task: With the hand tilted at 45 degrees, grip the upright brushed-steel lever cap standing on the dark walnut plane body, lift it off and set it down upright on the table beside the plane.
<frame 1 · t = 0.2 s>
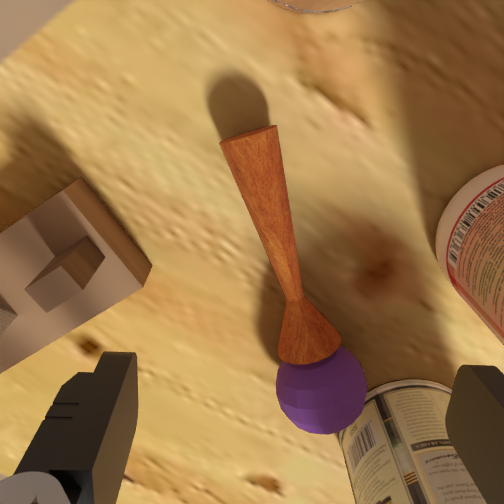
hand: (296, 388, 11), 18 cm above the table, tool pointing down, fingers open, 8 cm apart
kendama: (290, 274, 31), on the table
coffee can: (403, 428, 36), on the table
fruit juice: (503, 229, 30), on the table
plane body: (1, 299, 31), on the table
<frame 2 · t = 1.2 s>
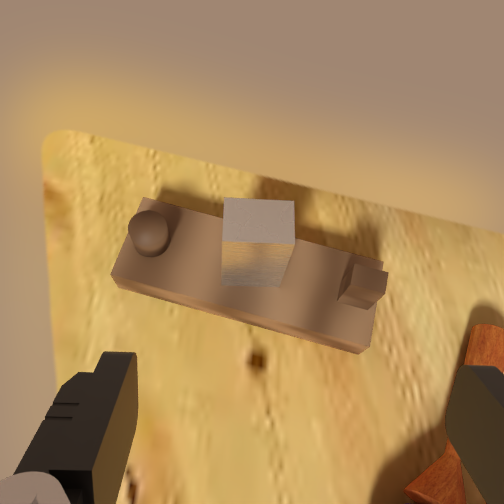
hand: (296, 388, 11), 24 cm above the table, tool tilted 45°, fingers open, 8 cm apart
lever cap: (250, 267, 36), point 3 cm above the table, touching plane body
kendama: (437, 453, 34), on the table
plane body: (248, 281, 38), on the table
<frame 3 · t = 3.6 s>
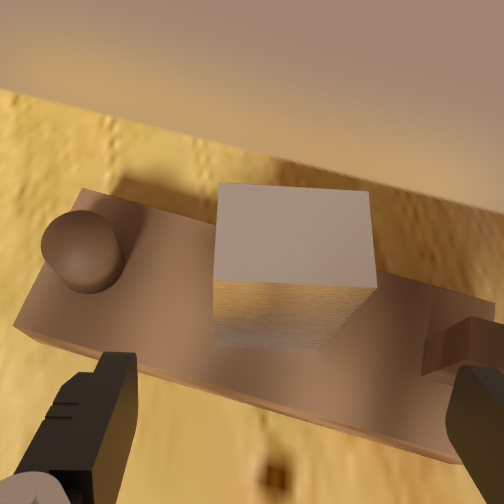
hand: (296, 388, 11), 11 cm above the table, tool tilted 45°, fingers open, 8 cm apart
lever cap: (266, 313, 20), point 3 cm above the table, touching plane body
plane body: (259, 330, 23), on the table
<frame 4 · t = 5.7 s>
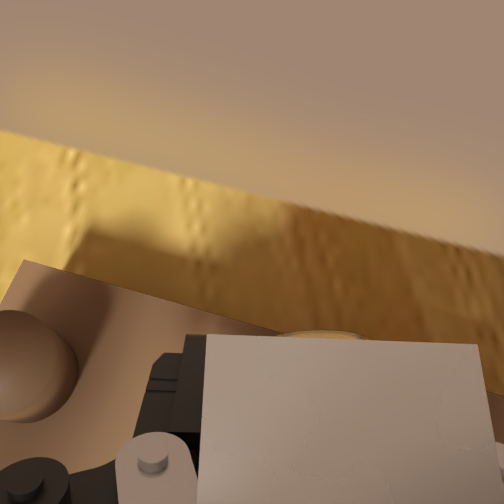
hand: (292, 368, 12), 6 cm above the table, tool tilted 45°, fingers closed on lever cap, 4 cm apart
lever cap: (279, 448, 14), point 3 cm above the table, touching gripper, plane body
plane body: (269, 449, 17), on the table
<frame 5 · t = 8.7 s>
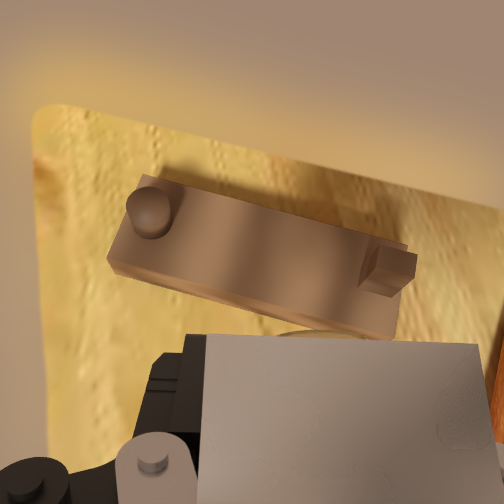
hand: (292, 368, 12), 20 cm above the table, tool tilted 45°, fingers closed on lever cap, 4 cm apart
lever cap: (279, 448, 14), point 17 cm above the table, touching gripper
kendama: (471, 449, 31), on the table
plane body: (258, 267, 35), on the table
when the fingers open (4 cm above the table, at t = 12.1 s): lever cap drops 2 cm, on the table.
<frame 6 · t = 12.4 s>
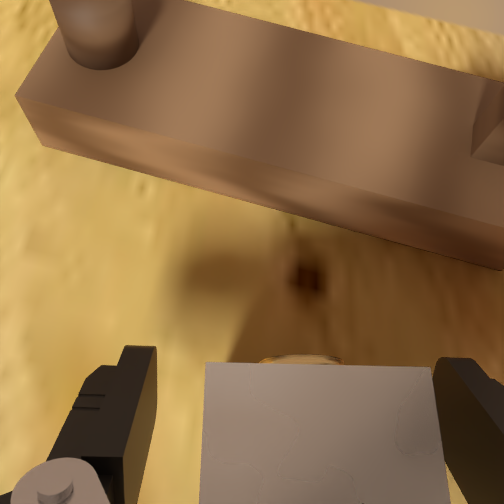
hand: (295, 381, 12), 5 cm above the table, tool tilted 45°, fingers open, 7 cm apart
lever cap: (272, 453, 16), on the table
plane body: (285, 142, 21), on the table
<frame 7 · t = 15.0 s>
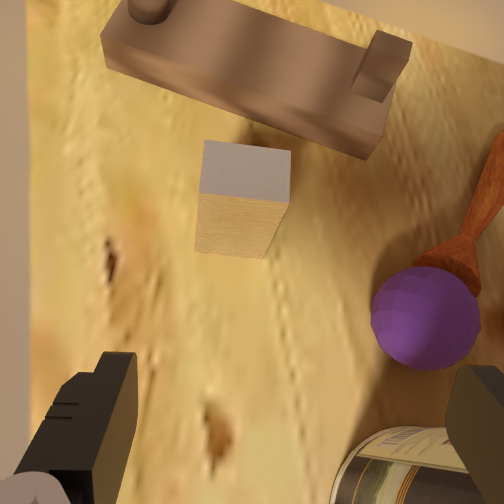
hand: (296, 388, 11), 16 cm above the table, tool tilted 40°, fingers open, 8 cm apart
lever cap: (230, 234, 30), on the table
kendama: (446, 250, 33), on the table
plane body: (251, 79, 35), on the table
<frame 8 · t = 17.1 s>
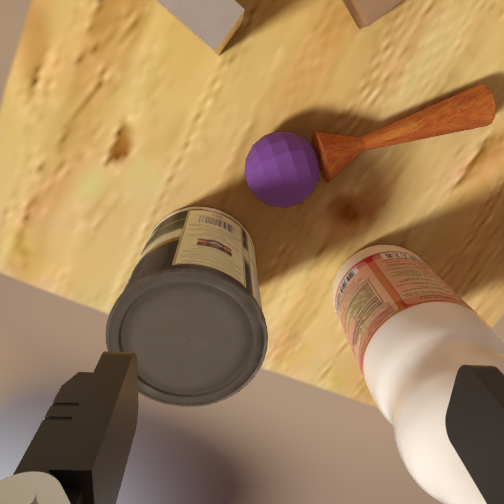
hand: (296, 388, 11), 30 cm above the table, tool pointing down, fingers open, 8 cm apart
lever cap: (207, 19, 35), on the table
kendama: (357, 138, 39), on the table
coffee can: (201, 258, 43), on the table
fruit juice: (377, 286, 44), on the table
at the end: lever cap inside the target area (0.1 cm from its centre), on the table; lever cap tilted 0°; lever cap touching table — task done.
